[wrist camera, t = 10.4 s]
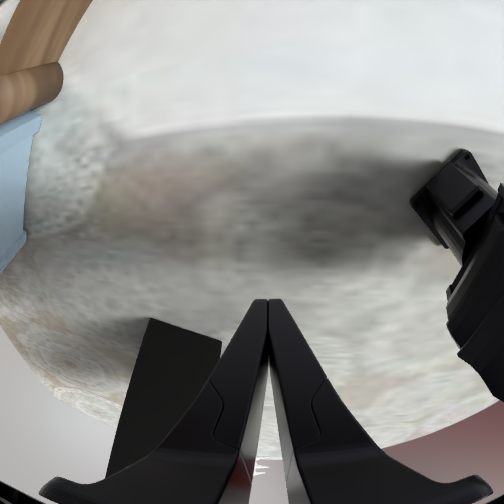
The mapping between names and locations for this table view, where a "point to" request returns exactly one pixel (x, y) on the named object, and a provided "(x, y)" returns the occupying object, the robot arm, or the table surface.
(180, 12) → the table surface
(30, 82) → the pen fence
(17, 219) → the gate
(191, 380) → the black pillar candle
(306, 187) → the table surface
